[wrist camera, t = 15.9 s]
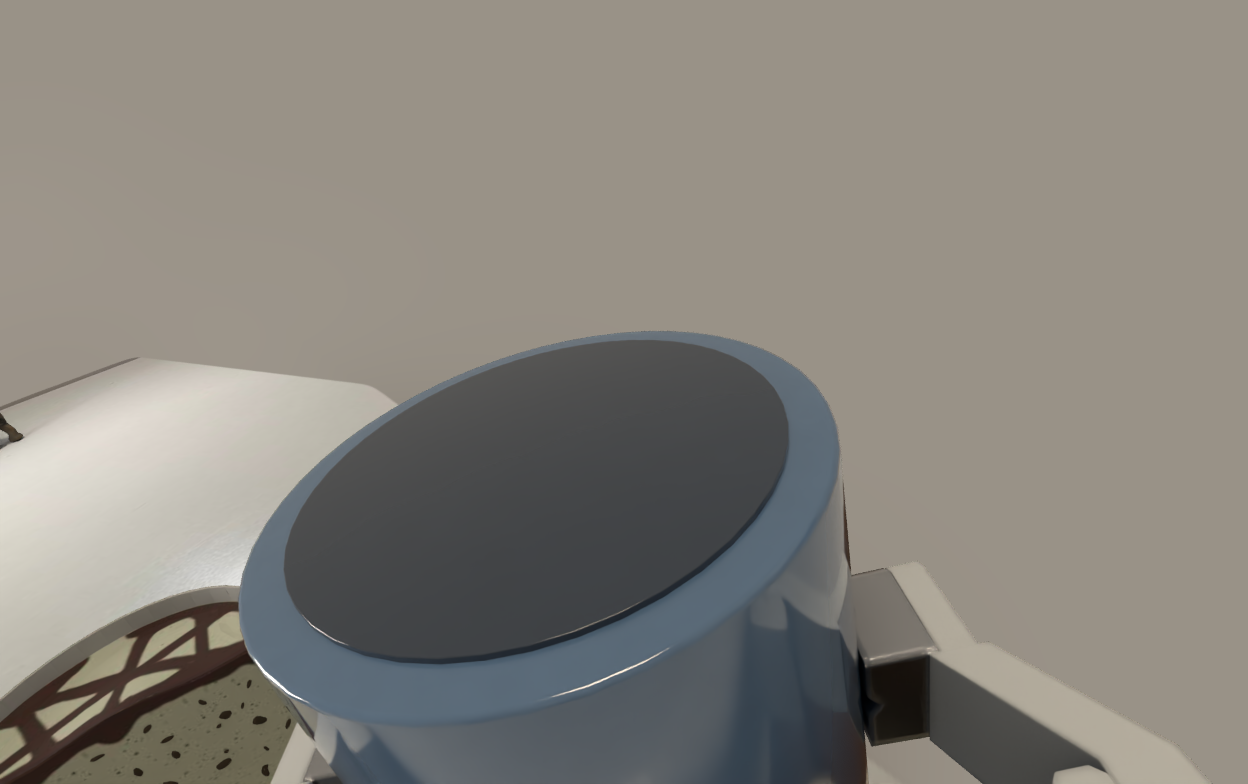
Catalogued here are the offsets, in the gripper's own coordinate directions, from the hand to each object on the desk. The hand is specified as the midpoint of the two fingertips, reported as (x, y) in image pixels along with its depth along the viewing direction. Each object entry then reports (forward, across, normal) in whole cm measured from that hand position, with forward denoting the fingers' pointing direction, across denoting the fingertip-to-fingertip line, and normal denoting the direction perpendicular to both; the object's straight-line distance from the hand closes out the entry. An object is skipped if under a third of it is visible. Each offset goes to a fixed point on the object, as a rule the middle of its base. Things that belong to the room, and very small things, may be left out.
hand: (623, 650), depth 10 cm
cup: (-1, 0, -6) cm, 6 cm away
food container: (+11, -21, -17) cm, 29 cm away
